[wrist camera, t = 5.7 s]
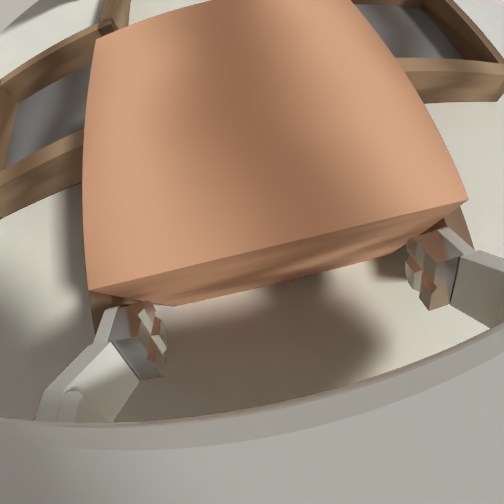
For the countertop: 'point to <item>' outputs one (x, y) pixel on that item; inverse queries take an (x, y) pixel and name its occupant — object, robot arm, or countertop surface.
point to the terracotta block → (252, 150)
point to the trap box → (117, 17)
